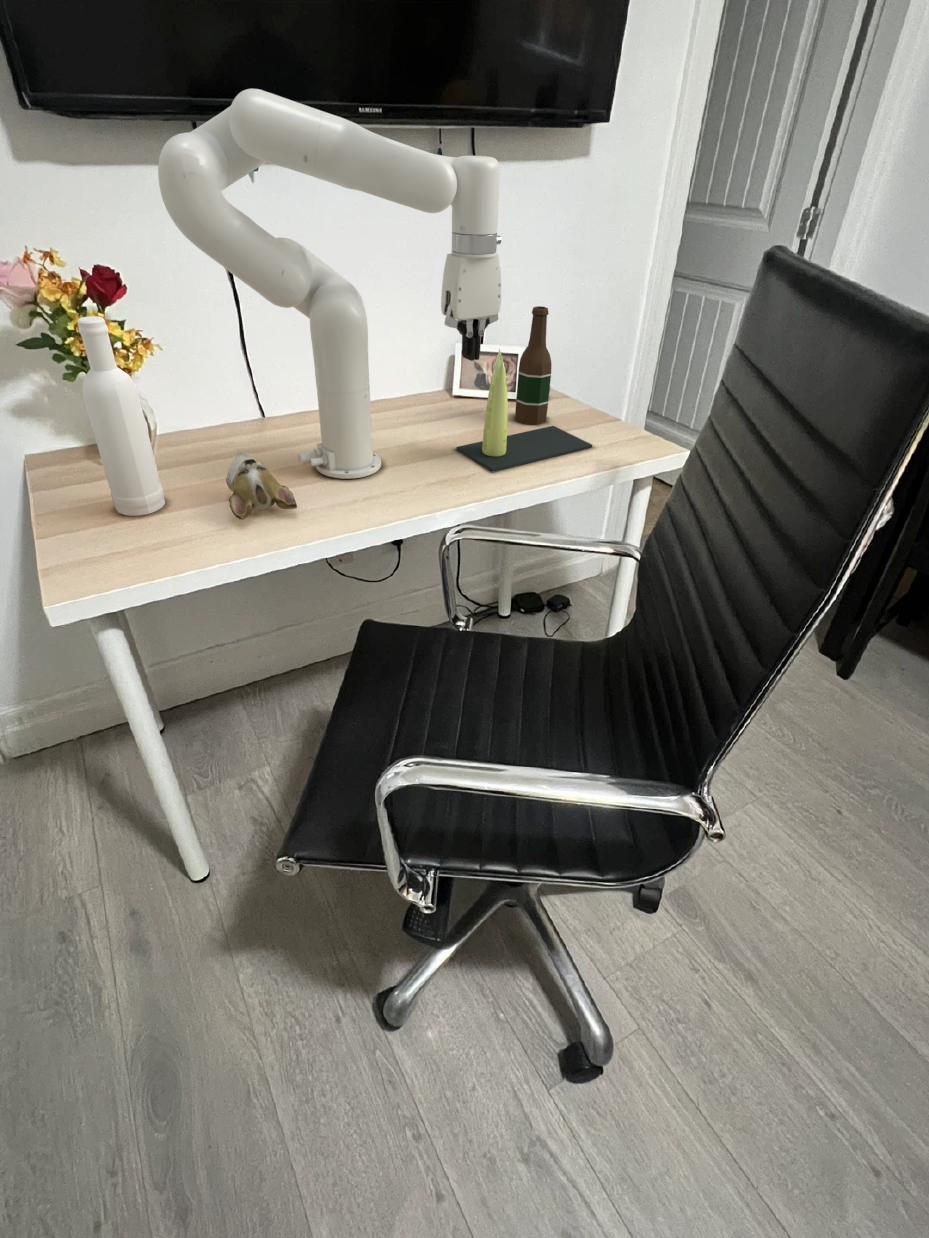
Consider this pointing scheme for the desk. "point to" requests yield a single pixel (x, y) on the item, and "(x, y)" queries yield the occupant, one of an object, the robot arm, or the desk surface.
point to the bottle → (118, 425)
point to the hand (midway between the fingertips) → (470, 358)
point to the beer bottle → (534, 373)
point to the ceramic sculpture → (255, 488)
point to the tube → (496, 412)
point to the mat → (527, 448)
